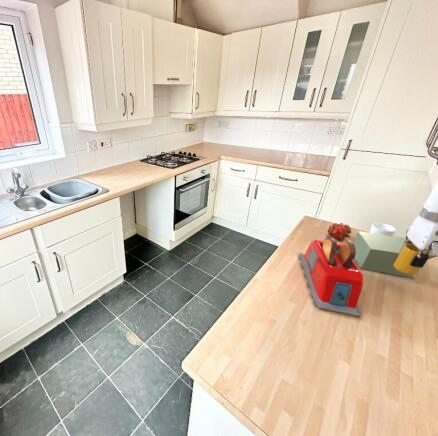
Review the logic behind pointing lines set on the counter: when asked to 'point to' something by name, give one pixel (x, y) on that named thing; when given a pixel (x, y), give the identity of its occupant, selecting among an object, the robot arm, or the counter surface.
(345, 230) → the dragon fruit
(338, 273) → the toaster
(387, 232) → the white cup
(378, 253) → the shelf
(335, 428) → the counter surface
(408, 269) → the cup
